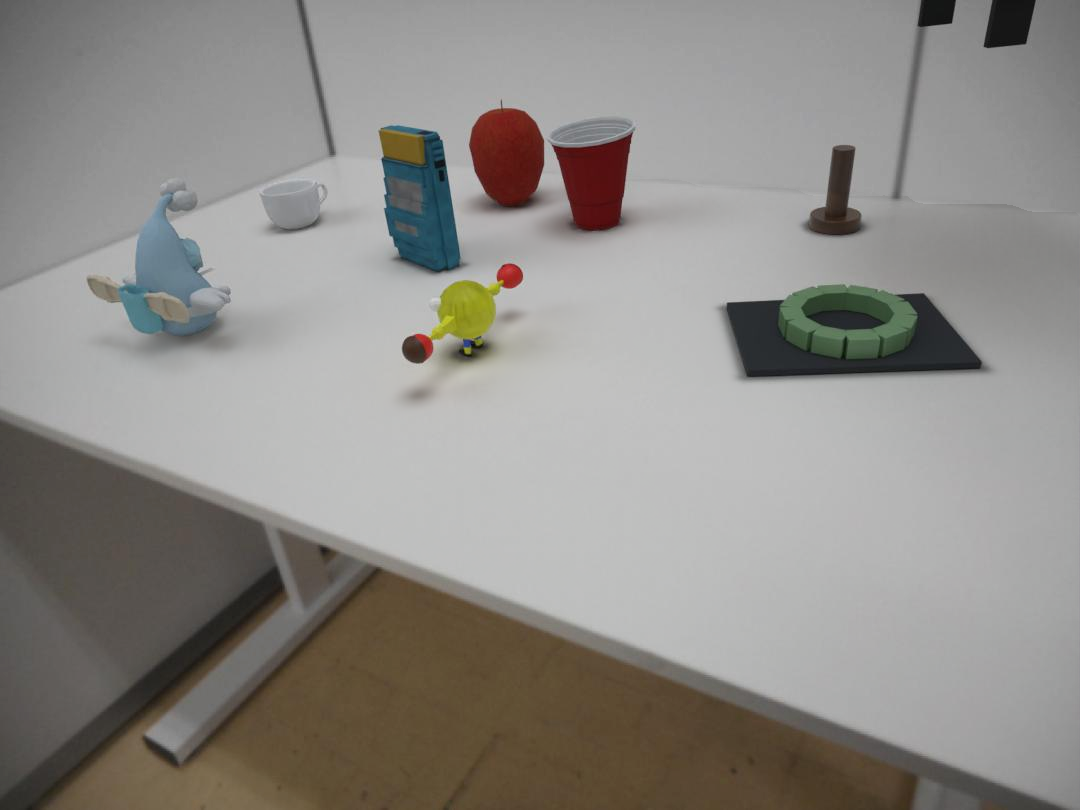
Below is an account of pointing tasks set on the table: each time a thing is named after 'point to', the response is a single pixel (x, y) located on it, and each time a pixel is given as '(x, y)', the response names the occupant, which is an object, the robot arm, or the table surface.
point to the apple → (507, 155)
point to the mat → (778, 356)
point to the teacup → (292, 202)
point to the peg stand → (837, 196)
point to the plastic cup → (594, 167)
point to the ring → (847, 342)
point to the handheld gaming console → (419, 197)
